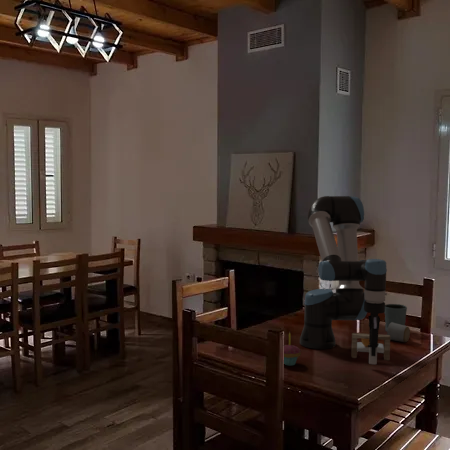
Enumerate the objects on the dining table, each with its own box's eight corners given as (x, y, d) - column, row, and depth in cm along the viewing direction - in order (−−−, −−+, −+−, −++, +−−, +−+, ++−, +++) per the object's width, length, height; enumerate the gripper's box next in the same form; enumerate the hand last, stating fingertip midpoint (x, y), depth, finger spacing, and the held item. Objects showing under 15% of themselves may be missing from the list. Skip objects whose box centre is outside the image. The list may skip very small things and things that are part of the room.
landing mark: (352, 351, 224) (352, 350, 224) (351, 342, 237) (351, 341, 237) (385, 353, 221) (385, 352, 221) (382, 344, 234) (382, 343, 234)
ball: (361, 345, 233) (361, 347, 228) (361, 332, 233) (361, 334, 228) (374, 345, 232) (375, 348, 227) (374, 333, 232) (375, 335, 227)
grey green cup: (410, 332, 254) (411, 307, 253) (396, 335, 249) (396, 309, 248) (393, 327, 263) (393, 302, 262) (378, 330, 257) (379, 305, 256)
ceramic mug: (404, 344, 234) (405, 326, 234) (386, 341, 239) (387, 323, 239) (412, 339, 243) (413, 322, 242) (394, 336, 248) (395, 319, 247)
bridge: (389, 360, 212) (390, 337, 212) (351, 357, 215) (352, 334, 215) (388, 357, 215) (389, 335, 215) (351, 355, 218) (351, 332, 217)
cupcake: (277, 359, 211) (278, 329, 211) (299, 360, 211) (300, 330, 210) (279, 367, 203) (279, 335, 202) (301, 367, 203) (302, 336, 202)
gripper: (386, 305, 194) (384, 370, 195) (383, 298, 206) (381, 358, 208) (365, 304, 195) (363, 368, 197) (363, 297, 208) (361, 357, 210)
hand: (372, 363), depth 202 cm, fingers closed
